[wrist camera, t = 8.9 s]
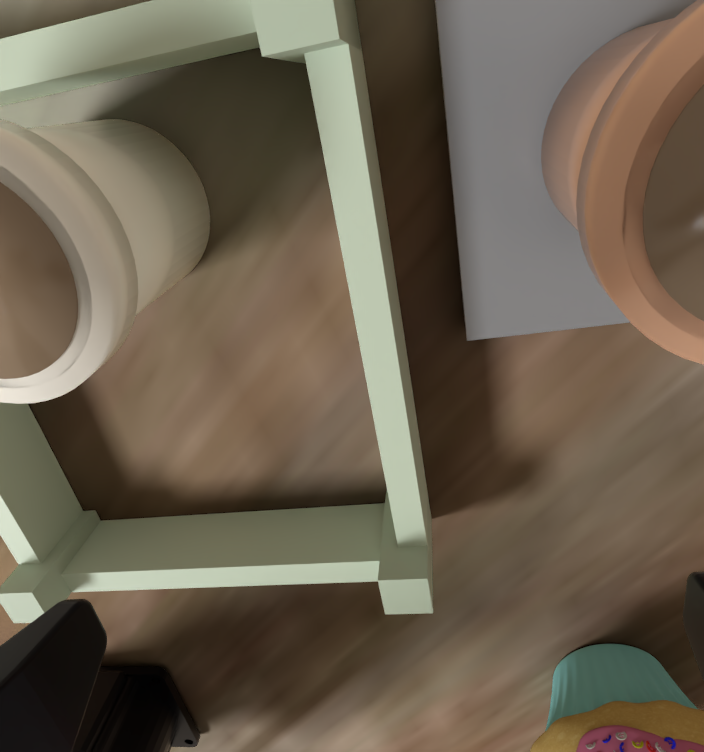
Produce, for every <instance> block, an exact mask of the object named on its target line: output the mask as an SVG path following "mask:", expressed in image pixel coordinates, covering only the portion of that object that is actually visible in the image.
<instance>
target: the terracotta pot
mask: <svg viewBox="0 0 704 752" xmlns="http://www.w3.org/2000/svg"><path fill="white" fill-rule="evenodd" d="M541 164H542V173H543V178H544V182H545V186H546V188H547V191H548V193H549V196H550V198H551V200H552V201H553V203H554V205H555V207H556V208H557V209H558V211H559V212H560V213H561V214H562V216H563V217H564V218H565V219H566V220H567V221H568V222H569V223H570V224H571V225H572V226H573V227H574V228H575V229H576V230H577V231H578V232H579V236H580V241H581V246H582V249H583V252H584V254H585V257H586V260H587V262H588V265H589V267H590V269H591V271H592V273H593V274H594V276H595V278H596V280H597V281H598V283H599V284H600V286H601V287H602V288H603V289H604V291H605V292H606V293H607V294H608V296H609V297H610V298H611V299H612V301H613V302H614V303H615V304H616V305H617V307H618V308H619V309H620V310H621V311H622V313H623V314H624V315H625V316H626V318H627V319H628V320H629V321H630V322H631V323H632V324H633V325H634V326H635V327H636V328H637V329H638V330H639V331H640V332H641V333H643V334H644V335H645V336H646V337H647V338H648V339H650V340H651V341H653V342H655V343H656V344H658V345H659V346H661V347H662V348H664V349H665V350H667V351H669V352H672V353H674V354H676V355H678V356H680V357H682V358H684V359H687V360H691V361H694V362H697V363H700V364H703V365H704V0H697V1H695V2H694V3H693V4H691V5H690V6H688V7H687V8H686V9H684V10H683V11H682V12H681V13H680V14H678V15H677V16H676V17H675V18H671V19H667V20H663V21H659V22H655V23H652V24H648V25H645V26H641V27H638V28H635V29H633V30H630V31H628V32H626V33H623V34H621V35H620V36H618V37H616V38H614V39H613V40H611V41H609V42H607V43H606V44H605V45H603V46H602V47H601V48H599V49H598V50H596V51H595V52H594V53H593V54H592V55H591V56H589V57H588V58H587V59H586V60H585V61H584V62H583V63H582V64H581V65H580V66H579V67H578V68H577V70H576V71H575V72H574V73H573V74H572V75H571V77H570V78H569V79H568V81H567V82H566V84H565V85H564V86H563V88H562V89H561V91H560V93H559V95H558V97H557V98H556V100H555V102H554V104H553V107H552V109H551V111H550V114H549V116H548V119H547V123H546V126H545V129H544V134H543V140H542V149H541Z"/></svg>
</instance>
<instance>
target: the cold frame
mask: <svg viewBox="0 0 704 752" xmlns="http://www.w3.org/2000/svg"><path fill="white" fill-rule="evenodd" d="M258 47H260V50H261V54H262V56H263V57H268V58H274V59H280V60H286V61H292V62H298V63H303V64H305V63H306V66H307V71H308V76H309V82H310V87H311V92H312V97H313V103H314V108H315V113H316V118H317V124H318V129H319V134H320V139H321V145H322V150H323V155H324V161H325V166H326V171H327V176H328V182H329V187H330V192H331V197H332V203H333V208H334V213H335V218H336V224H337V229H338V234H339V239H340V245H341V250H342V255H343V260H344V266H345V271H346V276H347V281H348V287H349V292H350V297H351V302H352V308H353V313H354V318H355V323H356V329H357V334H358V339H359V345H360V350H361V355H362V360H363V366H364V371H365V376H366V381H367V387H368V392H369V397H370V402H371V408H372V413H373V418H374V423H375V429H376V434H377V439H378V444H379V450H380V455H381V460H382V465H383V471H384V476H385V481H386V486H387V491H386V498H385V503H380V504H363V505H347V506H331V507H315V508H298V509H282V510H266V511H250V512H234V513H217V514H201V515H185V516H169V517H152V518H136V519H120V520H104V521H101V520H100V518H99V516H98V514H97V512H96V510H91V511H83V510H82V508H81V506H80V504H79V502H78V500H77V498H76V496H75V494H74V492H73V490H72V488H71V486H70V484H69V482H68V481H67V479H66V477H65V475H64V473H63V471H62V469H61V467H60V465H59V463H58V461H57V459H56V457H55V455H54V453H53V452H52V450H51V448H50V446H49V444H48V442H47V440H46V438H45V436H44V434H43V432H42V430H41V428H40V426H39V424H38V422H37V421H36V419H35V417H34V415H33V413H32V411H31V409H30V407H29V405H28V403H24V404H15V403H2V402H0V535H1V537H2V538H3V540H4V542H5V543H6V545H7V546H8V548H9V550H10V551H11V553H12V554H13V556H14V558H15V559H16V561H17V563H18V564H19V565H18V566H17V568H16V569H15V570H14V571H13V572H12V574H11V575H10V576H9V577H8V578H7V579H6V581H5V582H4V583H3V584H2V585H1V587H0V603H1V605H2V606H3V608H4V609H5V611H6V612H7V614H8V615H9V617H10V618H11V620H12V621H13V623H32V622H33V621H34V620H36V619H37V618H38V617H39V616H41V615H42V614H43V613H45V612H46V611H47V610H49V609H50V608H51V607H53V606H54V605H55V604H57V603H58V602H60V601H63V600H66V599H67V598H68V596H69V595H70V593H71V592H89V591H117V590H146V589H175V588H204V587H232V586H261V585H290V584H319V583H348V582H376V581H378V584H379V589H380V593H381V598H382V602H383V607H384V611H385V614H426V613H433V567H432V518H431V512H430V505H429V498H428V491H427V485H426V478H425V471H424V465H423V458H422V451H421V444H420V438H419V431H418V424H417V417H416V411H415V404H414V397H413V390H412V384H411V377H410V370H409V364H408V357H407V350H406V343H405V337H404V330H403V323H402V316H401V310H400V303H399V296H398V290H397V283H396V276H395V269H394V263H393V256H392V249H391V242H390V236H389V229H388V222H387V215H386V209H385V202H384V195H383V189H382V182H381V175H380V168H379V162H378V155H377V148H376V141H375V135H374V128H373V121H372V115H371V108H370V101H369V94H368V88H367V81H366V74H365V67H364V61H363V54H362V47H361V40H360V34H359V27H358V20H357V14H356V7H355V0H151V1H147V2H143V3H140V4H136V5H132V6H128V7H124V8H120V9H116V10H112V11H108V12H104V13H100V14H96V15H92V16H88V17H85V18H81V19H77V20H73V21H69V22H65V23H61V24H57V25H53V26H49V27H45V28H41V29H37V30H34V31H30V32H26V33H22V34H18V35H14V36H10V37H6V38H2V39H0V106H4V105H8V104H13V103H17V102H22V101H26V100H30V99H35V98H39V97H43V96H48V95H52V94H57V93H61V92H65V91H70V90H74V89H79V88H83V87H87V86H92V85H96V84H100V83H105V82H109V81H114V80H118V79H122V78H127V77H131V76H136V75H140V74H144V73H149V72H153V71H157V70H162V69H166V68H171V67H175V66H179V65H184V64H188V63H193V62H197V61H201V60H206V59H210V58H215V57H219V56H223V55H228V54H232V53H236V52H241V51H245V50H250V49H254V48H258Z"/></svg>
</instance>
